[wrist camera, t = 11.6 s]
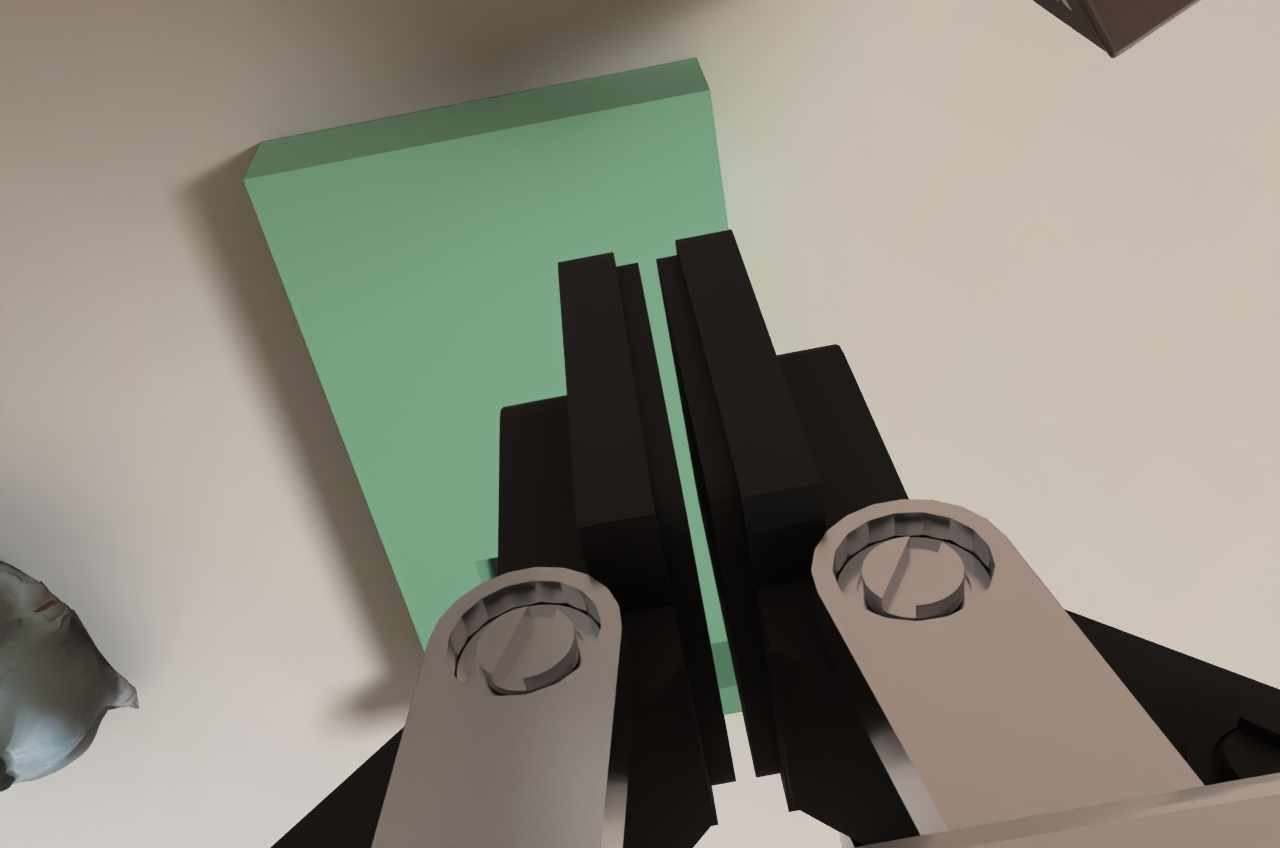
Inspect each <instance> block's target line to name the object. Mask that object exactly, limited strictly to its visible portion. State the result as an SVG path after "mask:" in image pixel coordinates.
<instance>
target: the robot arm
mask: <svg viewBox="0 0 1280 848" xmlns="http://www.w3.org/2000/svg"><path fill="white" fill-rule="evenodd" d="M675 245H676V253H677V255H675V256H669V257H664V258H659V259H656V263H657V269H658V275H659V281H660V286H661V292H662V298H663V304H664V309H665V315H666V321H667V326H668V332H669V338H670V344H671V349H672V355H673V361H674V366H675V372H676V378H677V383H678V389H679V395H680V401H681V406H682V412H683V418H684V423H685V429H686V435H687V441H688V446H689V452H690V458H691V463H692V469H693V475H694V480H695V486H696V491H697V497H698V502H699V507H700V512H701V517H702V522H703V526H704V531H705V536H706V541H707V545H708V550H709V555H710V560H711V565H712V569H713V574H714V579H715V584H716V588H717V593H718V598H719V603H720V607H721V612H722V617H723V622H724V627H725V631H726V636H727V641H728V646H729V650H730V655H731V660H732V665H733V669H734V674H735V679H736V684H737V688H738V693H739V698H740V703H741V708H742V712H743V717H744V722H745V727H746V731H747V736H748V741H749V746H750V750H751V755H752V760H753V765H754V769H755V774H756V777H761V776H767V775H772V774H778V773H780V775H781V779H782V783H783V788H784V792H785V796H786V801H787V805H788V809H789V812H791V811H796V810H801V811H803V812H804V813H806V814H808V815H810V816H812V817H814V818H815V819H817V820H819V821H821V822H823V823H824V824H826V825H828V826H830V827H832V828H833V829H835V830H837V831H839V832H840V840H841V844H842V848H1280V690H1279V689H1277V688H1274V687H1271V686H1269V685H1266V684H1263V683H1261V682H1258V681H1255V680H1252V679H1250V678H1247V677H1244V676H1242V675H1239V674H1236V673H1234V672H1231V671H1228V670H1226V669H1223V668H1220V667H1218V666H1215V665H1212V664H1210V663H1207V662H1204V661H1202V660H1199V659H1196V658H1194V657H1191V656H1188V655H1185V654H1183V653H1180V652H1177V651H1175V650H1172V649H1169V648H1167V647H1164V646H1161V645H1159V644H1156V643H1153V642H1151V641H1148V640H1145V639H1143V638H1140V637H1137V636H1135V635H1132V634H1129V633H1126V632H1124V631H1121V630H1118V629H1116V628H1113V627H1110V626H1108V625H1105V624H1102V623H1100V622H1097V621H1094V620H1092V619H1089V618H1086V617H1084V616H1081V615H1078V614H1076V613H1073V612H1070V611H1067V610H1065V609H1064V608H1063V607H1062V606H1061V605H1060V603H1059V602H1058V601H1057V600H1056V598H1055V597H1054V596H1053V595H1052V593H1051V592H1050V591H1049V590H1048V588H1047V587H1046V586H1045V585H1044V583H1043V582H1042V581H1041V580H1040V578H1039V577H1038V576H1037V575H1036V573H1035V572H1034V571H1033V570H1032V568H1031V567H1030V566H1029V565H1028V563H1027V562H1026V561H1025V560H1024V558H1023V557H1022V556H1021V555H1020V553H1019V552H1018V551H1017V549H1016V548H1015V547H1014V546H1013V544H1012V543H1011V542H1010V541H1009V539H1008V538H1007V537H1006V536H1005V535H1004V534H1003V533H1002V532H1001V531H1000V530H999V529H997V528H996V527H995V526H994V525H993V524H992V523H991V522H990V521H988V520H987V519H986V518H984V517H982V516H980V515H978V514H976V513H973V512H971V511H969V510H967V509H965V508H963V507H961V506H957V505H952V504H948V503H943V502H939V501H934V500H910V499H908V496H907V494H906V492H905V490H904V487H903V485H902V483H901V481H900V478H899V476H898V474H897V472H896V469H895V467H894V465H893V463H892V460H891V458H890V456H889V454H888V451H887V449H886V447H885V445H884V443H883V440H882V438H881V436H880V434H879V431H878V429H877V427H876V425H875V422H874V420H873V418H872V416H871V413H870V411H869V409H868V407H867V404H866V402H865V400H864V398H863V395H862V393H861V391H860V389H859V386H858V384H857V382H856V380H855V378H854V375H853V373H852V371H851V369H850V366H849V364H848V362H847V360H846V357H845V355H844V353H843V351H842V350H841V348H840V346H838V345H836V344H835V345H830V346H824V347H819V348H814V349H808V350H803V351H798V352H792V353H787V354H782V355H776V353H775V350H774V347H773V345H772V342H771V339H770V336H769V333H768V330H767V328H766V325H765V322H764V319H763V316H762V314H761V311H760V308H759V305H758V302H757V299H756V297H755V294H754V291H753V288H752V285H751V283H750V280H749V277H748V274H747V271H746V268H745V266H744V263H743V260H742V257H741V254H740V252H739V249H738V246H737V243H736V240H735V237H734V235H733V232H732V230H725V231H720V232H715V233H710V234H704V235H699V236H694V237H689V238H683V239H678V240H675ZM558 277H559V291H560V305H561V319H562V333H563V347H564V361H565V375H566V389H567V395H564V396H559V397H553V398H548V399H543V400H537V401H532V402H527V403H522V404H516V405H511V406H506V407H503V408H502V409H501V412H500V438H499V513H498V577H495V578H493V579H491V580H488V581H486V582H483V583H481V584H479V585H478V586H476V587H475V588H473V589H472V590H470V591H469V592H467V593H466V594H465V595H463V596H462V597H460V598H459V599H457V600H456V601H455V602H454V603H453V604H452V606H451V607H450V608H449V609H448V610H447V611H446V612H445V613H444V614H443V615H442V617H441V618H440V619H439V620H438V622H437V624H436V626H435V628H434V630H433V632H432V634H431V637H430V639H429V641H428V643H427V647H426V650H425V654H424V658H423V661H422V665H421V669H420V672H419V676H418V680H417V683H416V687H415V690H414V694H413V698H412V701H411V705H410V709H409V712H408V716H407V720H406V723H405V726H404V727H403V728H402V729H401V730H400V731H399V732H398V733H397V734H396V735H394V736H393V737H392V738H391V739H390V740H389V741H388V742H387V743H386V744H385V745H383V746H382V747H381V748H380V749H379V750H378V751H377V752H376V753H375V754H373V755H372V756H371V757H370V758H369V759H368V760H367V761H366V762H365V763H364V764H362V765H361V766H360V767H359V768H358V769H357V770H356V771H355V772H354V773H353V774H351V775H350V776H349V777H348V778H347V779H346V780H345V781H344V782H343V783H341V784H340V785H339V786H338V787H337V788H336V789H335V790H334V791H333V792H332V793H330V794H329V795H328V796H327V797H326V798H325V799H324V800H323V801H322V802H321V803H319V804H318V805H317V806H316V807H315V808H314V809H313V810H312V811H311V812H309V813H308V814H307V815H306V816H305V817H304V818H303V819H302V820H301V821H300V822H298V823H297V824H296V825H295V826H294V827H293V828H292V829H291V830H290V831H289V832H287V833H286V834H285V835H284V836H283V837H282V838H281V839H280V840H279V841H277V842H276V843H275V844H274V845H273V846H272V847H271V848H693V847H694V846H695V844H696V843H697V842H698V841H699V840H700V838H701V837H702V836H703V835H704V834H705V832H706V831H707V830H708V829H709V828H710V826H713V825H718V821H717V815H716V809H715V804H714V798H713V792H712V785H717V784H723V783H728V782H734V781H736V779H735V773H734V768H733V762H732V757H731V751H730V746H729V740H728V735H727V730H726V724H725V719H724V713H723V708H722V702H721V697H720V691H719V686H718V681H717V675H716V670H715V664H714V659H713V653H712V648H711V642H710V637H709V632H708V626H707V621H706V615H705V610H704V604H703V599H702V594H701V588H700V583H699V577H698V572H697V566H696V561H695V555H694V550H693V545H692V539H691V534H690V528H689V523H688V518H687V512H686V507H685V502H684V497H683V491H682V486H681V481H680V476H679V471H678V466H677V460H676V455H675V450H674V445H673V440H672V435H671V429H670V424H669V419H668V414H667V409H666V404H665V399H664V393H663V388H662V383H661V378H660V373H659V368H658V363H657V357H656V352H655V347H654V342H653V337H652V332H651V327H650V321H649V316H648V311H647V306H646V301H645V296H644V291H643V285H642V280H641V275H640V270H639V265H638V263H633V264H627V265H622V266H617V267H616V262H615V257H614V253H613V252H610V253H605V254H600V255H594V256H589V257H584V258H579V259H573V260H568V261H563V262H558Z"/></svg>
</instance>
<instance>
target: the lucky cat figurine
mask: <svg viewBox="0 0 1280 848" xmlns="http://www.w3.org/2000/svg"><path fill="white" fill-rule="evenodd" d="M127 706H130V707H133V708H139V705H138V699H137V692H136V689H135V687H134V686H132V685H131V684H130V683H129V682H128V681H127V680H126V679H125V678H124V677H122V676H121V675H120V674H119V673H118V672H116V671H115V670H114V669H113V668H112V667H111V665H110V664H109V663H108V662H107V660H106V659H105V658H104V657H103V655H102V654H101V653H100V652H99V650H98V649H97V647H96V646H95V644H94V642H93V641H92V639H91V637H90V636H89V634H88V632H87V630H86V629H85V627H84V625H83V624H82V622H81V620H80V619H79V617H78V615H77V614H76V612H75V611H74V610H73V609H70V607H69V606H67V605H66V604H65V603H63V602H62V601H60V600H59V599H58V598H57V597H56V596H55V595H53V594H52V593H51V592H50V591H49V590H48V589H47V587H46V586H45V585H44V584H43V582H42V581H41V582H39V581H37V580H35V579H33V578H31V577H30V576H28V575H27V574H25V573H24V572H22V571H20V570H19V569H17V568H15V567H13V566H11V565H9V564H7V563H4V562H2V561H0V791H4V790H6V789H7V788H9V787H10V786H11V785H12V784H15V783H19V782H25V781H32V780H36V779H40V778H42V777H45V776H47V775H49V774H52V773H54V772H56V771H58V770H60V769H62V768H64V767H65V766H67V765H68V764H70V763H71V762H73V761H74V760H75V759H77V758H79V757H80V756H81V755H82V754H83V753H84V752H85V751H86V750H87V749H88V748H89V746H90V745H91V743H92V742H93V740H94V738H95V735H96V733H97V730H98V728H99V725H100V722H101V720H102V719H103V717H104V715H105V714H106V712H107V711H108V710H109V709H116V708H120V707H127Z"/></svg>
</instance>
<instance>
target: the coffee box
mask: <svg viewBox="0 0 1280 848" xmlns="http://www.w3.org/2000/svg"><path fill="white" fill-rule="evenodd" d="M1034 1H1035V2H1036V3H1037V4H1039V5H1040V6H1042V7H1043V8H1044V9H1046V10H1047V11H1049V12H1050V13H1052V14H1053V15H1054V16H1056V17H1057V18H1059V19H1060V20H1061V21H1063V22H1064V23H1066V24H1067V25H1069V26H1071V27H1072V28H1073V29H1074V30H1076V31H1077V32H1079V33H1080V34H1081V35H1083V36H1084V37H1086V38H1087V39H1089V40H1090V41H1091V42H1093V43H1094V44H1096V45H1097V46H1099V47H1100V48H1101V49H1103V50H1104V51H1106V52H1107V53H1108V54H1109V56H1110V57H1111V58H1115V57H1117V56H1119V55H1120V54H1122V53H1124V52H1125V51H1127V50H1128V49H1129V48H1131V47H1132V46H1134V45H1135V44H1137V43H1138V42H1140V41H1141V40H1143V39H1144V38H1146V37H1147V36H1148V35H1150V34H1151V33H1153V32H1154V31H1156V30H1157V29H1159V28H1160V27H1162V26H1163V25H1165V24H1166V23H1168V22H1169V21H1171V20H1172V19H1174V18H1175V17H1177V16H1178V15H1180V14H1181V13H1182V12H1184V11H1185V10H1187V9H1188V8H1190V7H1191V6H1193V5H1194V4H1196V3H1197V2H1199V1H1200V0H1034Z"/></svg>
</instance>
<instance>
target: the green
mask: <svg viewBox="0 0 1280 848" xmlns="http://www.w3.org/2000/svg"><path fill="white" fill-rule="evenodd" d="M243 181H244V184H245V186H246V189H247V191H248V194H249V197H250V199H251V202H252V204H253V207H254V210H255V212H256V215H257V217H258V220H259V223H260V225H261V228H262V230H263V233H264V236H265V238H266V241H267V244H268V246H269V249H270V251H271V254H272V257H273V259H274V262H275V264H276V267H277V270H278V272H279V275H280V277H281V280H282V283H283V285H284V288H285V290H286V293H287V296H288V298H289V301H290V303H291V306H292V309H293V311H294V314H295V316H296V319H297V322H298V324H299V327H300V330H301V332H302V335H303V337H304V340H305V343H306V345H307V348H308V350H309V353H310V356H311V358H312V361H313V363H314V366H315V369H316V371H317V374H318V376H319V379H320V382H321V384H322V387H323V389H324V392H325V395H326V397H327V400H328V402H329V405H330V408H331V410H332V413H333V416H334V418H335V421H336V423H337V426H338V429H339V431H340V434H341V436H342V439H343V442H344V444H345V447H346V449H347V452H348V455H349V457H350V460H351V462H352V465H353V468H354V470H355V473H356V475H357V478H358V481H359V483H360V486H361V488H362V491H363V494H364V496H365V499H366V501H367V504H368V507H369V509H370V512H371V515H372V517H373V520H374V522H375V525H376V528H377V530H378V533H379V535H380V538H381V541H382V543H383V546H384V548H385V551H386V554H387V556H388V559H389V561H390V564H391V567H392V569H393V572H394V574H395V577H396V580H397V582H398V585H399V587H400V590H401V593H402V595H403V598H404V601H405V603H406V606H407V608H408V611H409V614H410V616H411V619H412V621H413V624H414V627H415V629H416V632H417V634H418V637H419V640H420V642H421V645H422V647H423V650H424V653H425V650H426V647H427V643H428V641H429V639H430V637H431V634H432V632H433V630H434V628H435V626H436V624H437V622H438V620H439V619H440V618H441V617H442V615H443V614H444V613H445V612H446V611H447V610H448V609H449V608H450V607H451V606H452V604H453V603H454V602H455V601H456V600H457V599H459V598H460V597H462V596H463V595H465V594H466V593H467V592H469V591H470V590H472V589H473V588H475V587H476V586H478V585H479V584H481V583H483V582H486V581H488V580H491V579H493V578H495V577H498V513H499V438H500V412H501V409H502V408H503V407H506V406H511V405H516V404H522V403H527V402H532V401H537V400H543V399H548V398H553V397H559V396H564V395H567V389H566V375H565V361H564V347H563V333H562V319H561V305H560V291H559V277H558V262H563V261H568V260H573V259H579V258H584V257H589V256H594V255H600V254H605V253H610V252H613V253H614V257H615V262H616V267H617V266H622V265H627V264H633V263H638V265H639V270H640V275H641V280H642V285H643V291H644V296H645V301H646V306H647V311H648V316H649V321H650V327H651V332H652V337H653V342H654V347H655V352H656V357H657V363H658V368H659V373H660V378H661V383H662V388H663V393H664V399H665V404H666V409H667V414H668V419H669V424H670V429H671V435H672V440H673V445H674V450H675V455H676V460H677V466H678V471H679V476H680V481H681V486H682V491H683V497H684V502H685V507H686V512H687V518H688V523H689V528H690V534H691V539H692V545H693V550H694V555H695V561H696V566H697V572H698V577H699V583H700V588H701V594H702V599H703V604H704V610H705V615H706V621H707V626H708V632H709V637H710V642H711V648H712V653H713V659H714V664H715V670H716V675H717V681H718V686H719V691H720V697H721V702H722V708H723V713H724V715H725V714H731V713H736V712H742V708H741V703H740V698H739V693H738V688H737V684H736V679H735V674H734V669H733V665H732V660H731V655H730V650H729V646H728V641H727V636H726V631H725V627H724V622H723V617H722V612H721V607H720V603H719V598H718V593H717V588H716V584H715V579H714V574H713V569H712V565H711V560H710V555H709V550H708V545H707V541H706V536H705V531H704V526H703V522H702V517H701V512H700V507H699V502H698V497H697V491H696V486H695V480H694V475H693V469H692V463H691V458H690V452H689V446H688V441H687V435H686V429H685V423H684V418H683V412H682V406H681V401H680V395H679V389H678V383H677V378H676V372H675V366H674V361H673V355H672V349H671V344H670V338H669V332H668V326H667V321H666V315H665V309H664V304H663V298H662V292H661V286H660V281H659V275H658V269H657V263H656V259H659V258H664V257H669V256H675V255H677V253H676V245H675V240H678V239H683V238H689V237H694V236H699V235H704V234H710V233H715V232H720V231H725V230H728V223H727V215H726V208H725V200H724V193H723V185H722V178H721V170H720V163H719V155H718V148H717V141H716V133H715V126H714V118H713V111H712V103H711V96H710V89H709V87H708V84H707V82H706V80H705V77H704V75H703V72H702V70H701V67H700V65H699V63H698V60H697V58H694V59H688V60H683V61H678V62H673V63H668V64H663V65H657V66H652V67H647V68H642V69H637V70H632V71H627V72H621V73H616V74H611V75H606V76H601V77H596V78H590V79H585V80H580V81H575V82H570V83H565V84H559V85H554V86H549V87H544V88H539V89H534V90H528V91H523V92H518V93H513V94H508V95H503V96H497V97H492V98H487V99H482V100H477V101H472V102H466V103H461V104H456V105H451V106H446V107H441V108H435V109H430V110H425V111H420V112H415V113H410V114H404V115H399V116H394V117H389V118H384V119H379V120H374V121H368V122H363V123H358V124H353V125H348V126H343V127H337V128H332V129H327V130H322V131H317V132H312V133H306V134H301V135H296V136H291V137H286V138H281V139H275V140H270V141H265V142H261V143H260V145H259V147H258V149H257V151H256V153H255V156H254V158H253V160H252V162H251V164H250V166H249V168H248V171H247V173H246V175H245V177H244V179H243Z"/></svg>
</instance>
